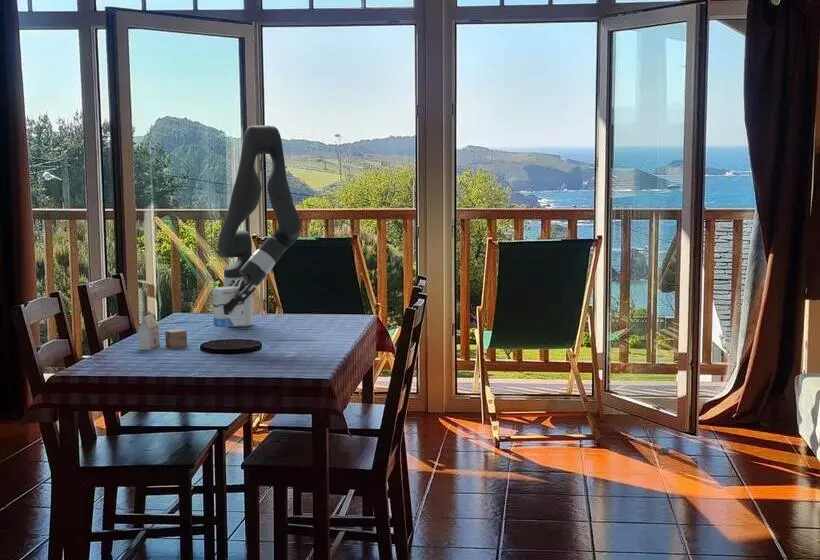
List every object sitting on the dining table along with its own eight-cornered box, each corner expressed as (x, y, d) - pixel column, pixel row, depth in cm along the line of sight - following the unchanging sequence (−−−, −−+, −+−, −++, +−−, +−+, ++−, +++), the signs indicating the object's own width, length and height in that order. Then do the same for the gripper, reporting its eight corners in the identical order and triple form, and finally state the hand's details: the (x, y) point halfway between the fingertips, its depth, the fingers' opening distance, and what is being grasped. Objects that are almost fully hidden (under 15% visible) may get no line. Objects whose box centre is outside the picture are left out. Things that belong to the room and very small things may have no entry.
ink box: (221, 327, 292) (219, 289, 290) (213, 326, 295) (211, 288, 294) (245, 324, 297) (244, 286, 296) (237, 322, 301) (235, 285, 300)
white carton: (138, 349, 294) (137, 317, 293) (148, 345, 300) (147, 314, 299) (150, 349, 293) (148, 317, 292) (159, 345, 300) (158, 314, 299)
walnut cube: (165, 346, 299) (165, 330, 299) (181, 344, 302) (180, 328, 301) (171, 348, 295) (170, 332, 294) (187, 346, 298) (186, 330, 297)
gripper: (239, 258, 304) (205, 299, 299) (259, 261, 292) (224, 303, 287) (255, 273, 308) (222, 314, 302) (276, 277, 296) (241, 319, 290)
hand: (223, 308), depth 295 cm, fingers closed on ink box, 5 cm apart
